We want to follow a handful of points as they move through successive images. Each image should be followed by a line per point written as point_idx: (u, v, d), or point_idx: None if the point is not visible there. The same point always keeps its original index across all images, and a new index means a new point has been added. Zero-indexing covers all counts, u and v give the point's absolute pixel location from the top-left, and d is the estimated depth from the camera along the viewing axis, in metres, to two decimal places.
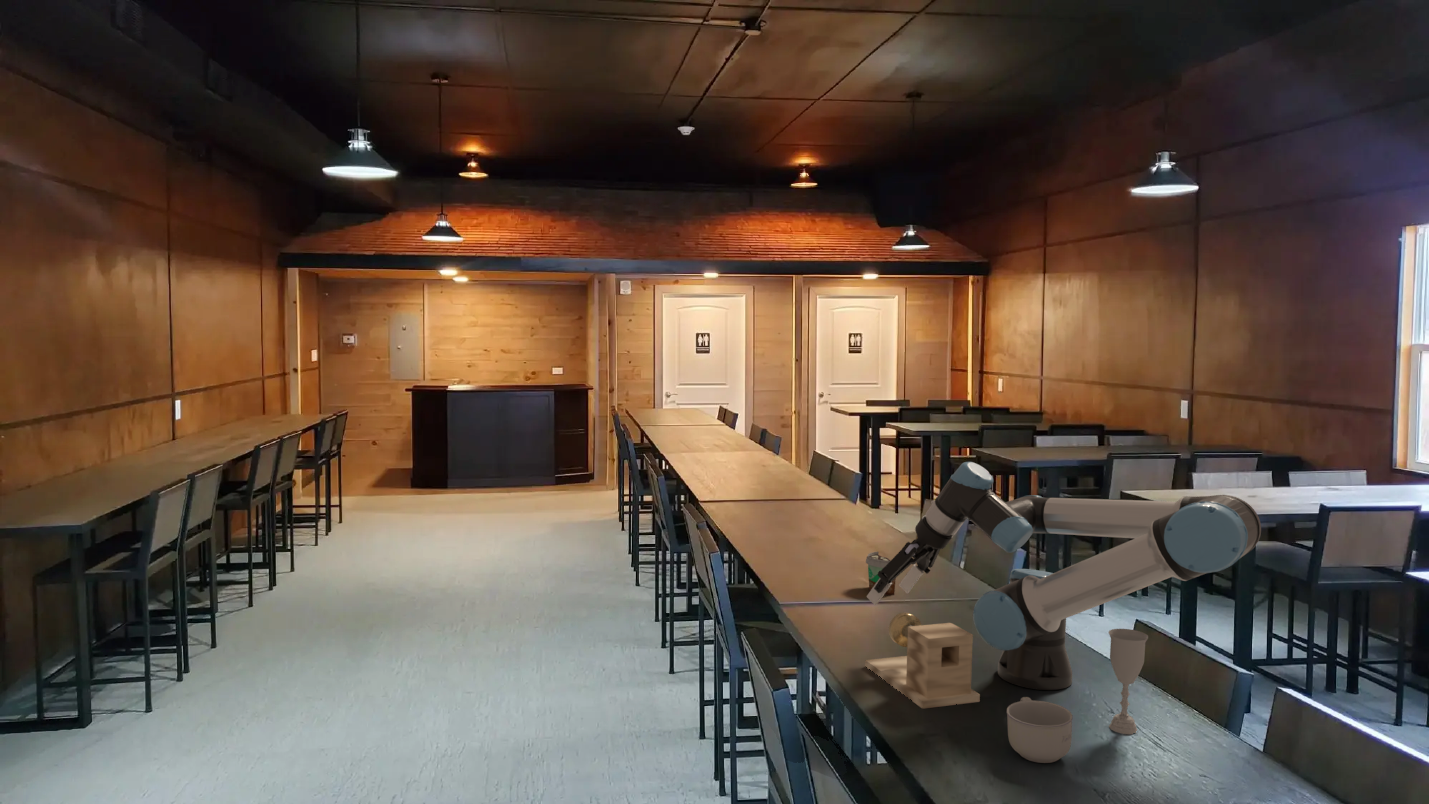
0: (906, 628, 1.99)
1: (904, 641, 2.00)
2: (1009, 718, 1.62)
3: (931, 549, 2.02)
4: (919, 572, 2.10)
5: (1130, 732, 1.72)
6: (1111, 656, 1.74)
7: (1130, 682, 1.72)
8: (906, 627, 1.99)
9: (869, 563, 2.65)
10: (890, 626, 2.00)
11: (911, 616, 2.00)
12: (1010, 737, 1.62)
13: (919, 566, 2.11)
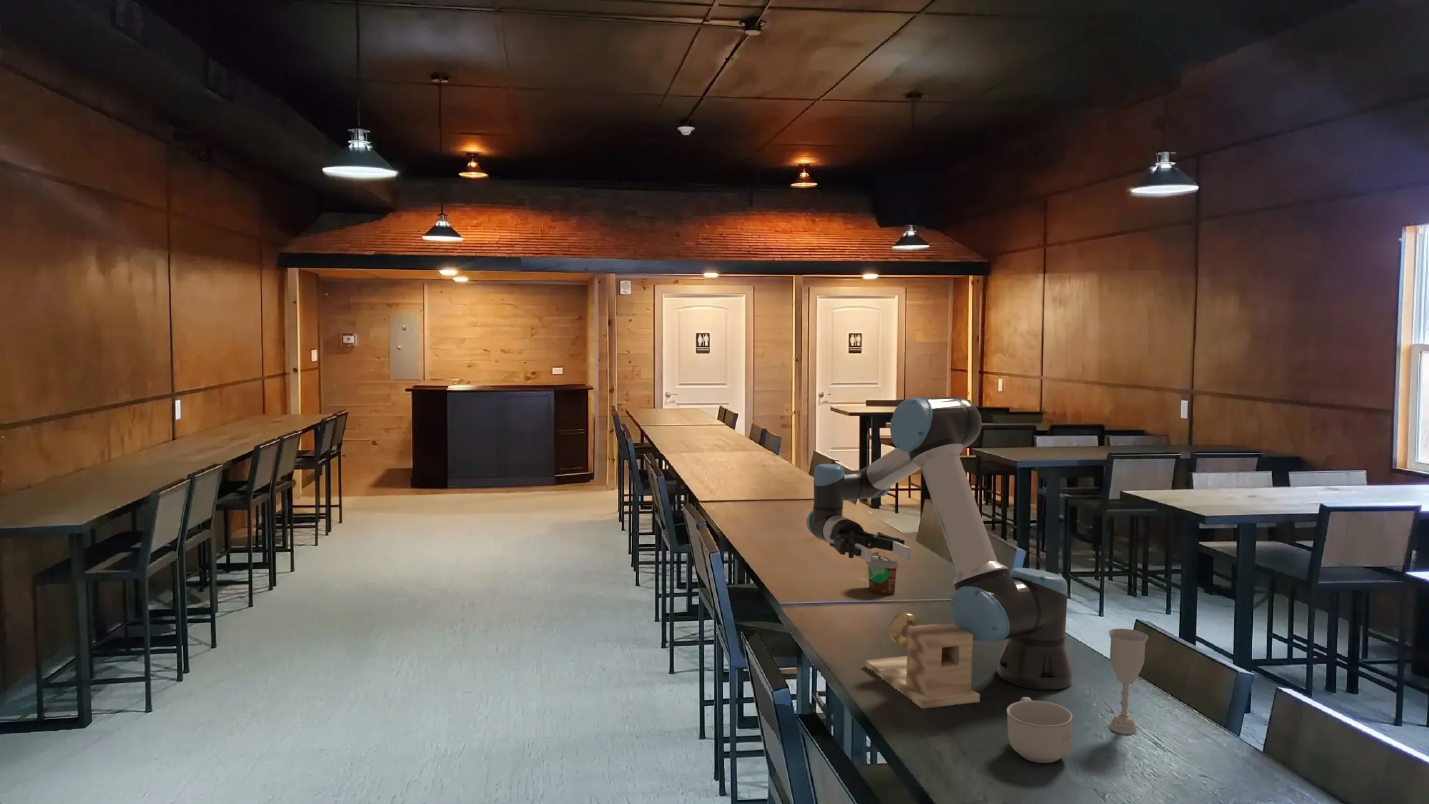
0: (906, 628, 1.99)
1: (904, 641, 2.00)
2: (1009, 718, 1.62)
3: None
4: (893, 544, 2.15)
5: (1130, 732, 1.72)
6: (1111, 656, 1.74)
7: (1130, 682, 1.72)
8: (906, 627, 1.99)
9: (869, 563, 2.65)
10: (890, 626, 2.00)
11: (911, 616, 2.00)
12: (1010, 737, 1.62)
13: None
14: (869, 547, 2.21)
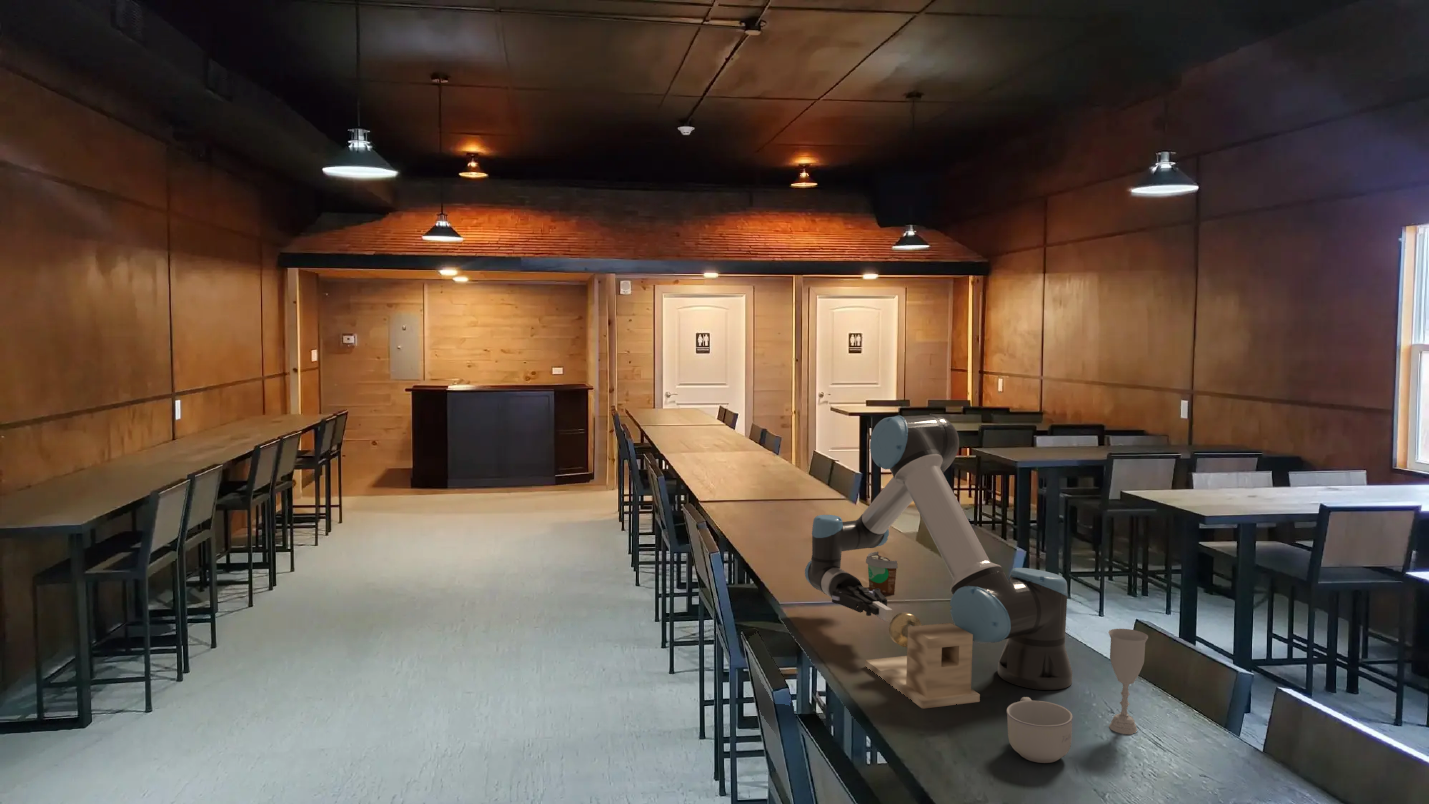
0: (906, 628, 1.99)
1: (904, 641, 2.00)
2: (1009, 718, 1.62)
3: None
4: None
5: (1130, 732, 1.72)
6: (1111, 656, 1.74)
7: (1130, 682, 1.72)
8: (906, 627, 1.99)
9: (869, 563, 2.65)
10: (890, 626, 2.00)
11: (911, 616, 2.00)
12: (1010, 737, 1.62)
13: None
14: None
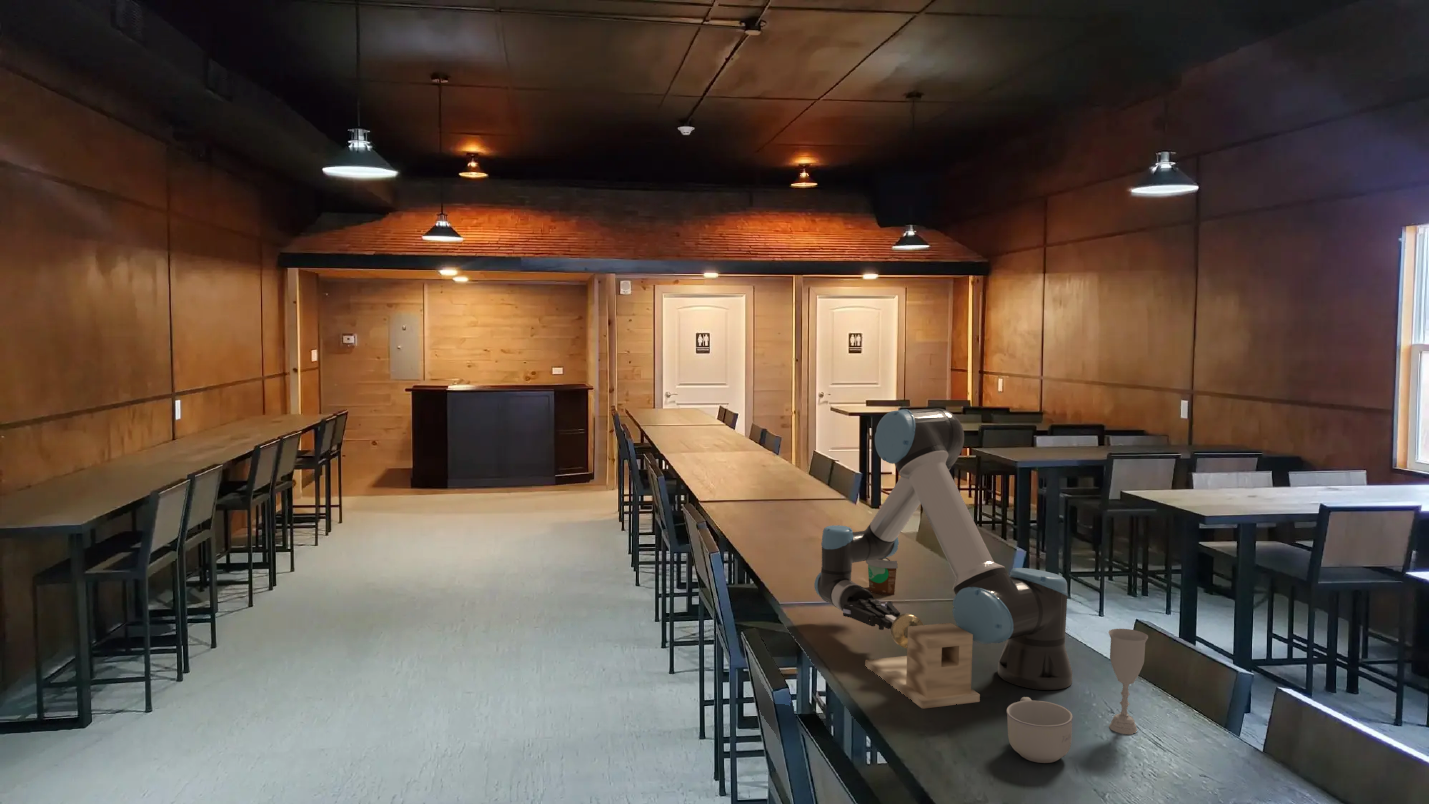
0: None
1: (906, 642, 1.99)
2: (1009, 718, 1.62)
3: None
4: None
5: (1130, 732, 1.72)
6: (1111, 656, 1.74)
7: (1130, 682, 1.72)
8: None
9: (869, 563, 2.65)
10: (892, 627, 2.00)
11: (913, 617, 1.99)
12: (1010, 737, 1.62)
13: None
14: None
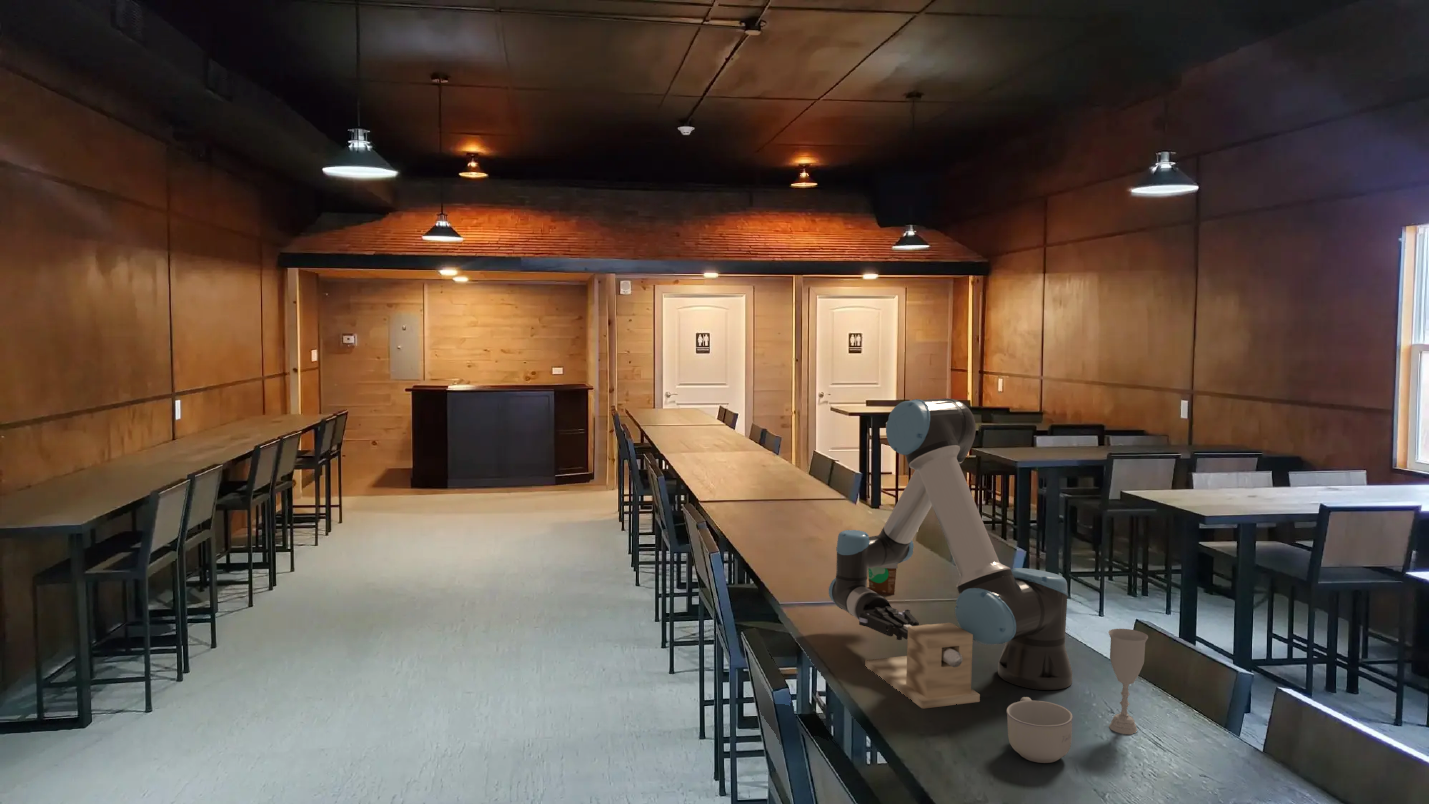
0: None
1: None
2: (1009, 718, 1.62)
3: None
4: None
5: (1130, 732, 1.72)
6: (1111, 656, 1.74)
7: (1130, 682, 1.72)
8: None
9: None
10: None
11: None
12: (1010, 737, 1.62)
13: None
14: None
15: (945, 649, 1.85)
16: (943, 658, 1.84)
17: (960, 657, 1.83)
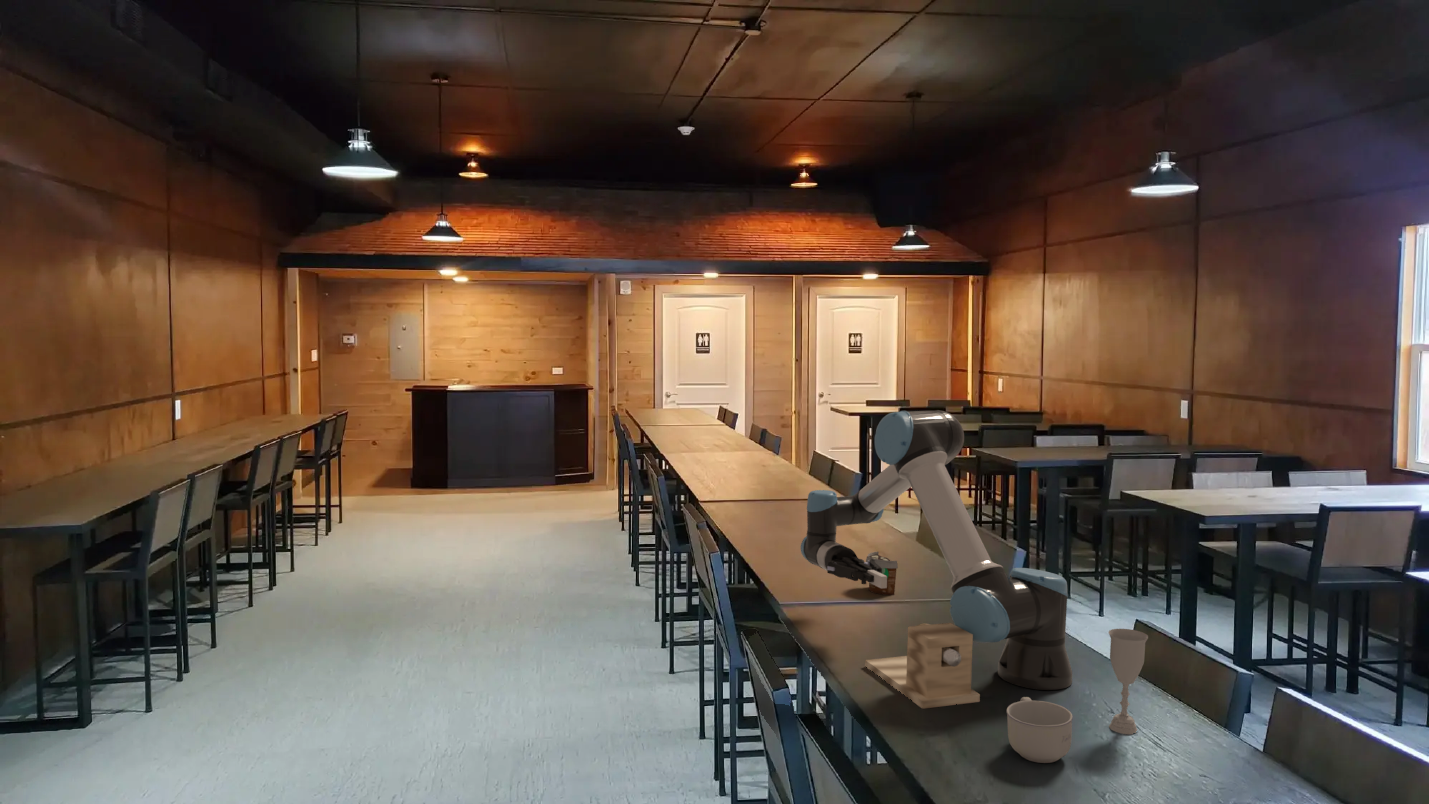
0: None
1: None
2: (1009, 718, 1.62)
3: None
4: None
5: (1130, 732, 1.72)
6: (1111, 656, 1.74)
7: (1130, 682, 1.72)
8: None
9: None
10: None
11: None
12: (1010, 737, 1.62)
13: None
14: None
15: (944, 649, 1.85)
16: (942, 657, 1.85)
17: (959, 656, 1.83)
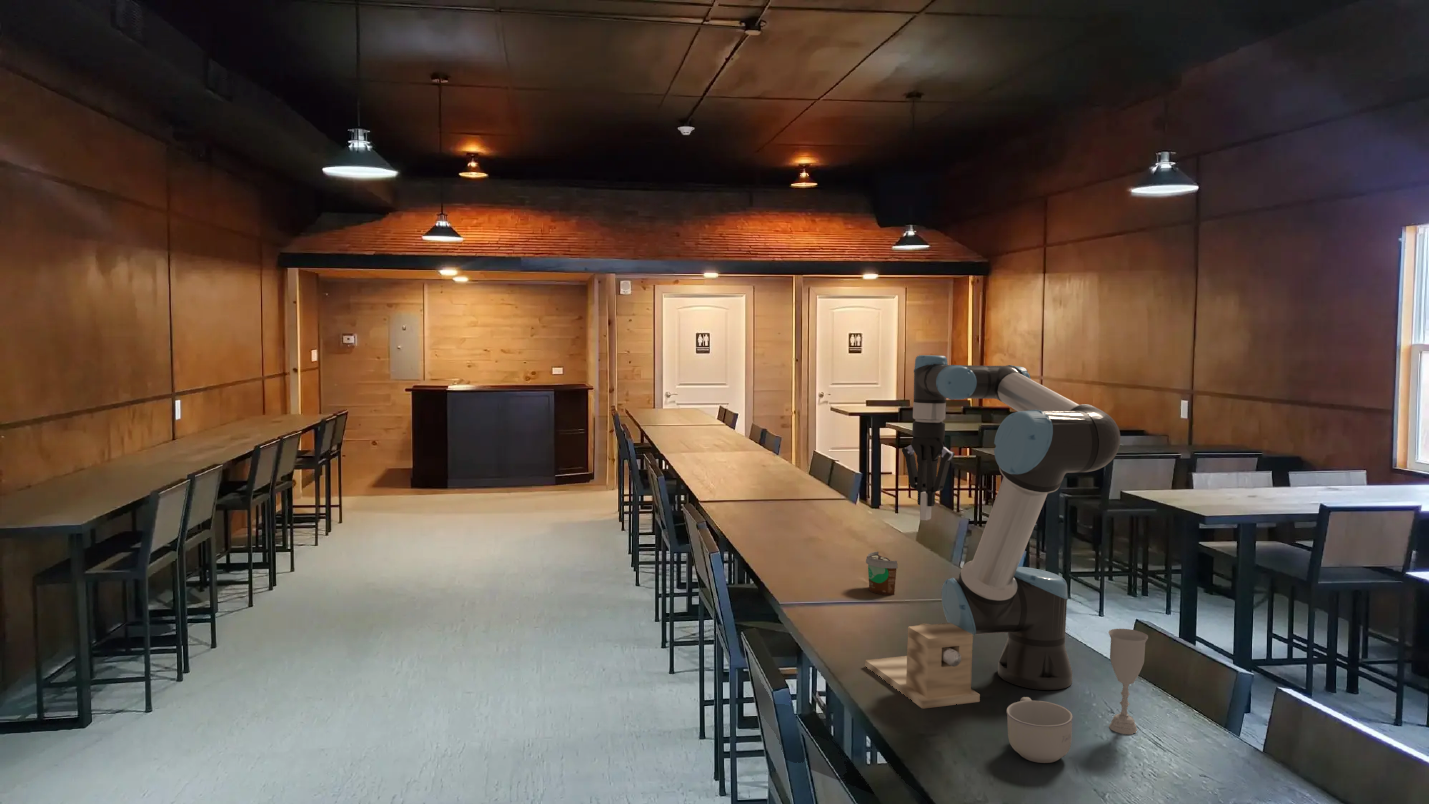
0: None
1: None
2: (1009, 718, 1.62)
3: (929, 446, 2.19)
4: None
5: (1130, 732, 1.72)
6: (1111, 656, 1.74)
7: (1130, 682, 1.72)
8: None
9: (869, 563, 2.65)
10: None
11: None
12: (1010, 737, 1.62)
13: None
14: None
15: (944, 649, 1.85)
16: (942, 657, 1.85)
17: (959, 656, 1.83)
